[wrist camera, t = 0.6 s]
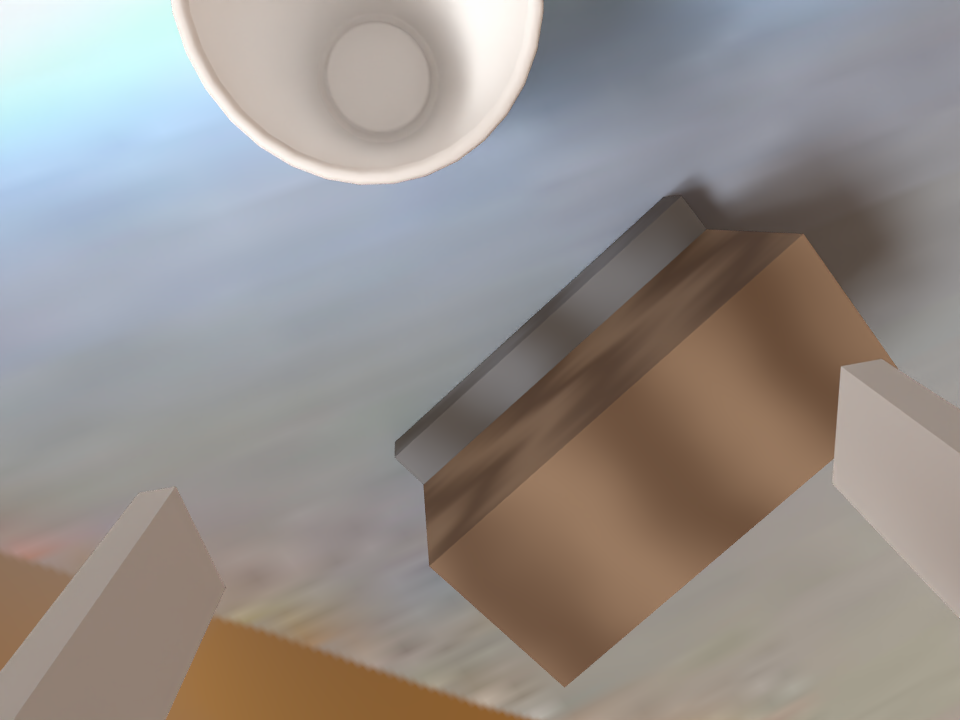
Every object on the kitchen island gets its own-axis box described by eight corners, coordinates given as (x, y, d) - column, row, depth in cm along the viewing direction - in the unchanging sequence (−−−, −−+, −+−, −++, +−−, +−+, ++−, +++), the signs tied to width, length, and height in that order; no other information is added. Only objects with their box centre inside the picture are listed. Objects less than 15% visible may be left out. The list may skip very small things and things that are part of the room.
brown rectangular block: (545, 585, 34) (594, 714, 25) (395, 441, 31) (391, 532, 22) (794, 369, 32) (937, 425, 24) (663, 197, 29) (772, 189, 21)
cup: (214, 30, 25) (77, -104, 15) (415, -94, 25) (423, -319, 15) (346, 236, 28) (310, 250, 17) (529, 125, 28) (606, 70, 17)
